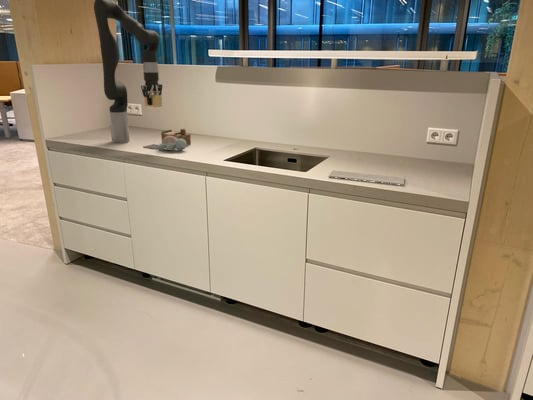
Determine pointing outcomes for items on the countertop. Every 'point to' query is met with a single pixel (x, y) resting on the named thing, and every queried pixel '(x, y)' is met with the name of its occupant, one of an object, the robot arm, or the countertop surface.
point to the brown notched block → (177, 135)
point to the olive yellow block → (154, 100)
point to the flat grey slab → (367, 177)
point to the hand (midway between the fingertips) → (153, 104)
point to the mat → (152, 146)
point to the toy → (172, 143)
